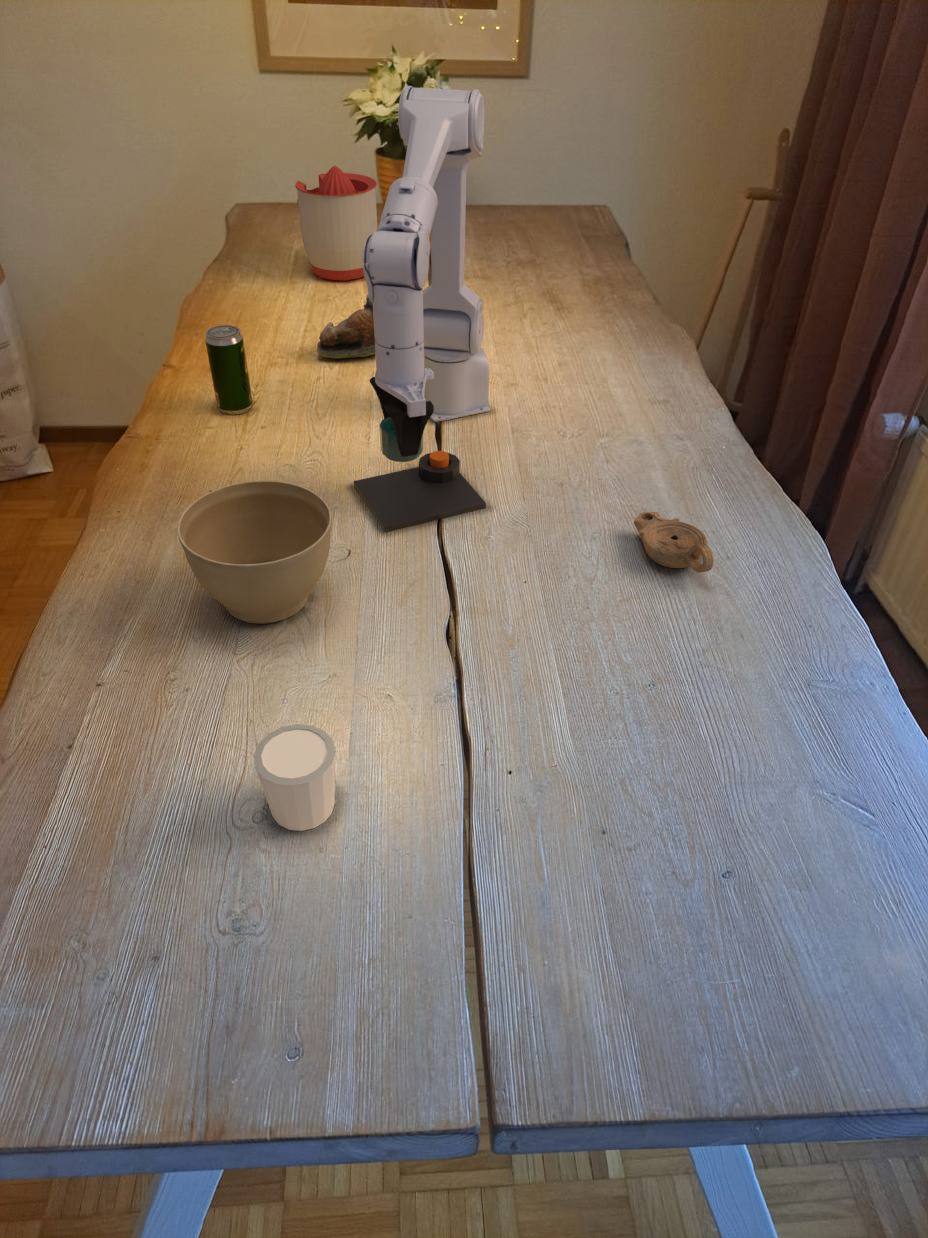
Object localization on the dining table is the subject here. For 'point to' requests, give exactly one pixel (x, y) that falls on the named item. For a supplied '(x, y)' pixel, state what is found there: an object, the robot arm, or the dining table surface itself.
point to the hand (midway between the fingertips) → (402, 443)
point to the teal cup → (393, 443)
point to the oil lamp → (673, 542)
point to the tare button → (439, 459)
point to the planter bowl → (257, 546)
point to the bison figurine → (350, 336)
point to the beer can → (229, 369)
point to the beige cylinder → (297, 775)
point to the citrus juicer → (337, 222)
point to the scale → (419, 494)
